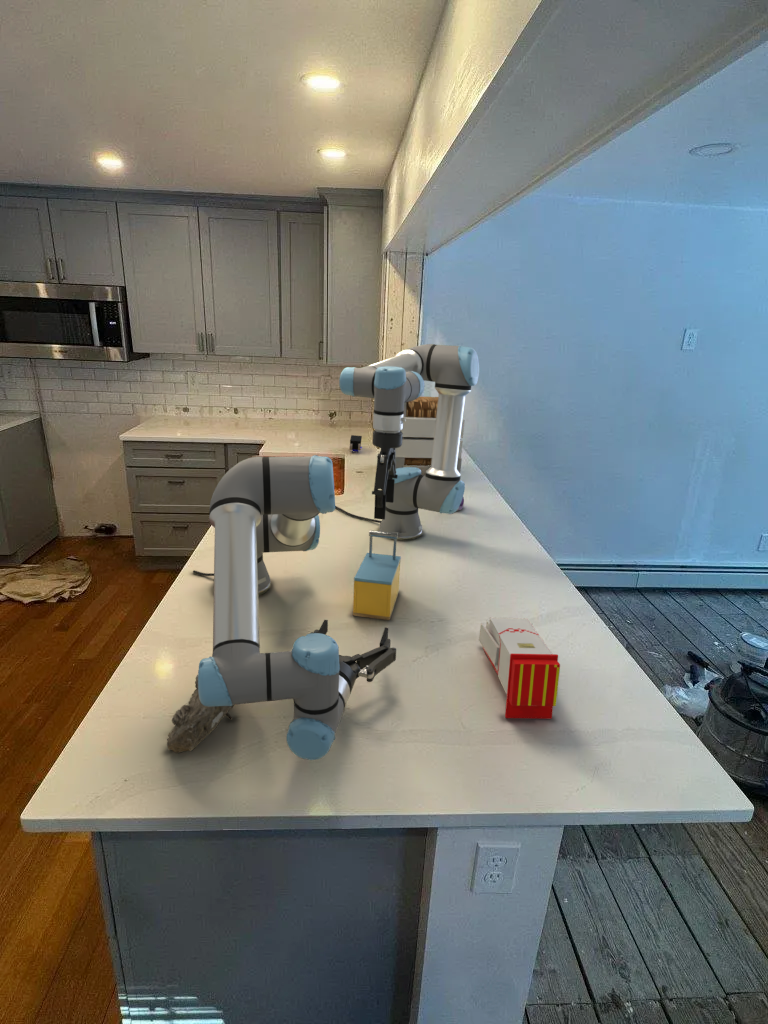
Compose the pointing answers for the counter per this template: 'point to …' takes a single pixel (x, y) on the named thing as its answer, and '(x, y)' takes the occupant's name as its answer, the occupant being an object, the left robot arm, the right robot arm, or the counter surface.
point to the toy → (522, 666)
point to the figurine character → (355, 443)
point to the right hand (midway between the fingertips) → (384, 510)
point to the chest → (375, 598)
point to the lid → (379, 562)
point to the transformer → (420, 433)
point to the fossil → (194, 723)
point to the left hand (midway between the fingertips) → (356, 628)
